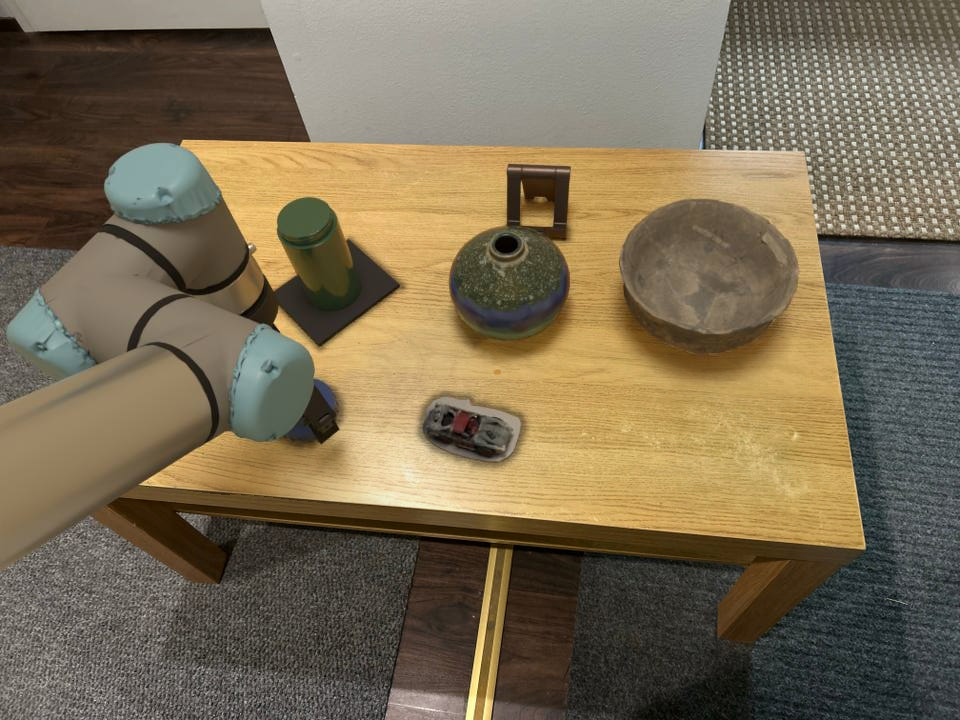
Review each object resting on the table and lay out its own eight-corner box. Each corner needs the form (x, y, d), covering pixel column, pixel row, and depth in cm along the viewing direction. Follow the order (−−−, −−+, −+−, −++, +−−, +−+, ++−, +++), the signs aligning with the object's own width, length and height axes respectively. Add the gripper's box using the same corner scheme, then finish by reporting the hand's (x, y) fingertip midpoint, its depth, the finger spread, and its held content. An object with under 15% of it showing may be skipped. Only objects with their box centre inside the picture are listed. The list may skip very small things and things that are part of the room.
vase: (454, 269, 97) (441, 201, 85) (563, 261, 96) (566, 191, 85) (454, 362, 89) (441, 300, 77) (574, 354, 88) (578, 291, 76)
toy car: (517, 464, 81) (516, 453, 78) (417, 457, 82) (413, 446, 79) (522, 400, 85) (522, 388, 82) (427, 395, 86) (423, 383, 84)
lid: (350, 417, 86) (347, 411, 84) (293, 455, 84) (288, 449, 82) (319, 373, 90) (315, 366, 88) (263, 408, 87) (258, 401, 86)
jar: (328, 321, 93) (295, 250, 81) (297, 290, 96) (260, 217, 84) (372, 288, 95) (346, 215, 83) (340, 259, 99) (310, 184, 86)
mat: (319, 346, 92) (318, 344, 91) (270, 296, 97) (269, 294, 96) (400, 286, 96) (399, 283, 95) (349, 241, 101) (348, 238, 101)
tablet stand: (504, 237, 99) (500, 195, 92) (510, 197, 103) (508, 154, 96) (565, 241, 98) (567, 198, 91) (569, 200, 102) (571, 156, 95)
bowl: (623, 241, 97) (630, 189, 88) (776, 259, 93) (799, 206, 85) (603, 364, 87) (609, 319, 78) (774, 390, 83) (800, 345, 74)
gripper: (336, 345, 61) (383, 445, 79) (196, 204, 72) (266, 321, 90) (265, 397, 58) (331, 489, 76) (132, 244, 69) (217, 355, 87)
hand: (296, 398), depth 83 cm, fingers open, 13 cm apart
